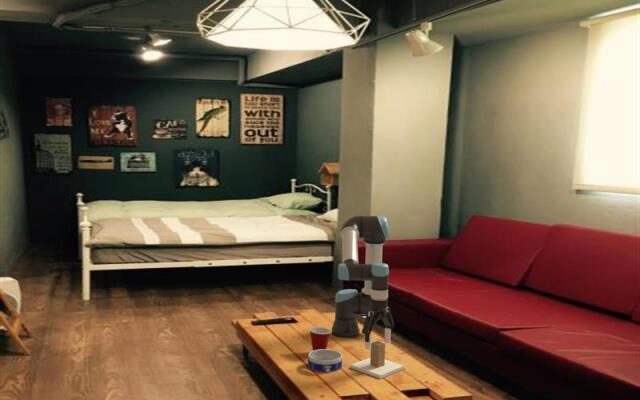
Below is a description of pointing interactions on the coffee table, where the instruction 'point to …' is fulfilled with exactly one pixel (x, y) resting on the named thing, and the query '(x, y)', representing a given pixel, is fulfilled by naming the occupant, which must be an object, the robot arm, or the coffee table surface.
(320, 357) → the dog bowl
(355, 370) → the mat
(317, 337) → the plastic cup
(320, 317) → the coffee table surface
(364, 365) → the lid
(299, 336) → the coffee table surface
